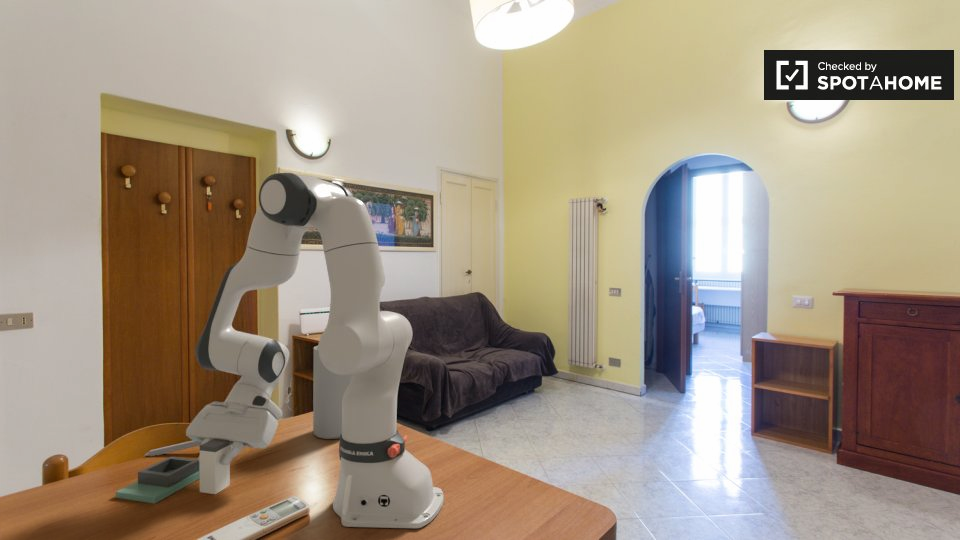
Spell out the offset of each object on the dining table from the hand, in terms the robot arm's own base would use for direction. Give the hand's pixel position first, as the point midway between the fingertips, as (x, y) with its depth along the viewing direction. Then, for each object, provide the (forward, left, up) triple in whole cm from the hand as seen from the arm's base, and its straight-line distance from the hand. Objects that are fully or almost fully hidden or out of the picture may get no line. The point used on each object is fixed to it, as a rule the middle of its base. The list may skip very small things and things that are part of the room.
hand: (212, 463), depth 97 cm
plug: (0, -1, -6) cm, 6 cm away
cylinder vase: (-8, -37, -6) cm, 38 cm away
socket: (+12, -1, -6) cm, 13 cm away
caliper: (+21, -15, -6) cm, 26 cm away
